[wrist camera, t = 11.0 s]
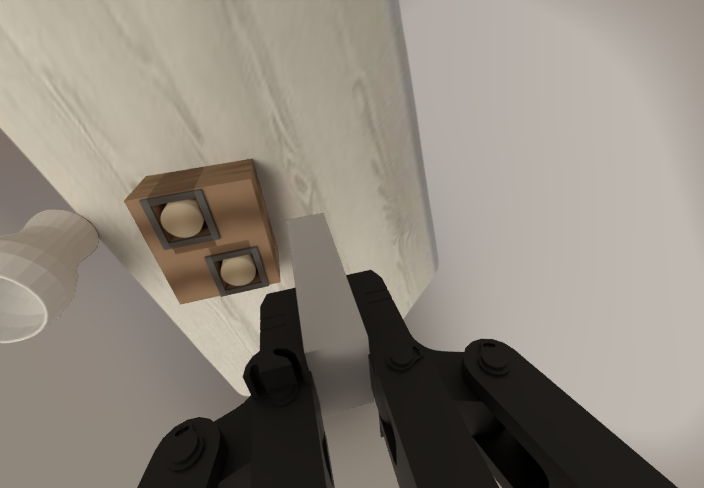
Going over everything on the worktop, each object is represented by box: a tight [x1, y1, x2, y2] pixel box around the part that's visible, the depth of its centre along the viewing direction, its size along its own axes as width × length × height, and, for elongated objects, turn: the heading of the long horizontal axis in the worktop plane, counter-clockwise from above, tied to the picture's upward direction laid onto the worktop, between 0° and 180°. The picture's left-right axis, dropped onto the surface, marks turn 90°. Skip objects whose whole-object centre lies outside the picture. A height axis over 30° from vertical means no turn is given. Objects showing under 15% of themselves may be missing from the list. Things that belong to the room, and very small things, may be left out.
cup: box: [0, 209, 99, 343], centre depth 37 cm, size 11×11×15 cm
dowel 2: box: [221, 254, 256, 286], centre depth 47 cm, size 4×4×8 cm
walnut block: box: [124, 159, 280, 304], centre depth 44 cm, size 16×14×8 cm
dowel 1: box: [161, 198, 205, 238], centre depth 41 cm, size 4×4×8 cm
